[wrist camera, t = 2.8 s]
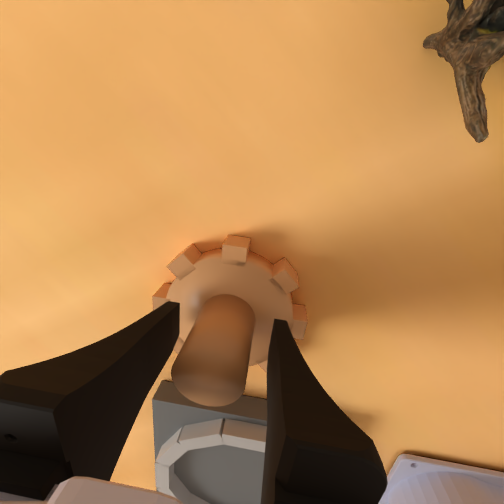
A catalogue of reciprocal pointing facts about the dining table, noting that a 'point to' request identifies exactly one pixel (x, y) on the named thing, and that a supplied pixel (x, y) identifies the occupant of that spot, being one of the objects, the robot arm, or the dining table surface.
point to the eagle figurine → (471, 54)
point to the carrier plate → (209, 448)
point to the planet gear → (227, 317)
